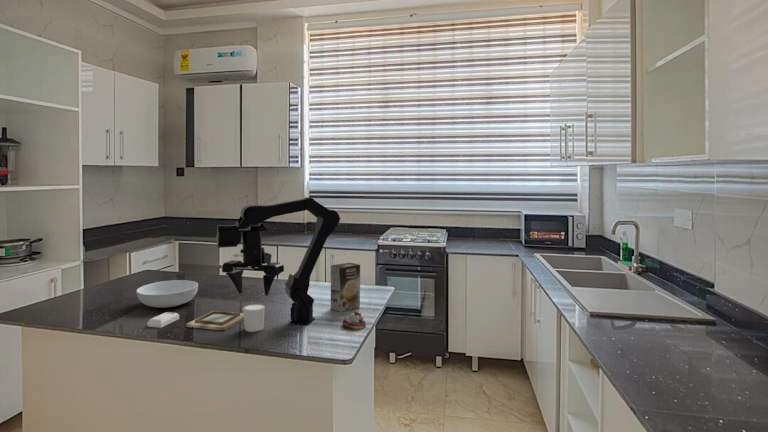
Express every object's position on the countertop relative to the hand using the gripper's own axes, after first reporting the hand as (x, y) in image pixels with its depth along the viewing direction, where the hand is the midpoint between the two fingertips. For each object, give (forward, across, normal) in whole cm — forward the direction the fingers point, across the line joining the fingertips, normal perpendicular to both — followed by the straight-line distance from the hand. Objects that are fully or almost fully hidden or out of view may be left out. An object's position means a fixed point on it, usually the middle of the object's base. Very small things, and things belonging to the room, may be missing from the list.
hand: (253, 294), depth 140 cm
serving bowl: (+11, +45, -16) cm, 49 cm away
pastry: (+12, -30, -10) cm, 34 cm away
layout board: (+11, +15, -3) cm, 19 cm away
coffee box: (+12, -21, -28) cm, 37 cm away
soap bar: (+12, +32, +2) cm, 34 cm away
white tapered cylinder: (+11, 0, 0) cm, 11 cm away
